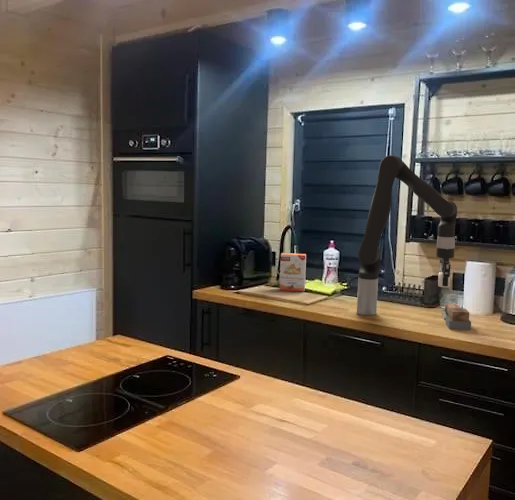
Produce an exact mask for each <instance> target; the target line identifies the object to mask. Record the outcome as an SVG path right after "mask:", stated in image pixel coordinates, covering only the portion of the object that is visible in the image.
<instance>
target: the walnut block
mask: <svg viewBox="0 0 515 500" xmlns="http://www.w3.org/2000/svg"><path fill="white" fill-rule="evenodd" d="M449 318H450V319H451V320H452V321H469V320H470V311H469V310H468V309H467V308H465V307H464V308H462V307H460V308H449Z"/></svg>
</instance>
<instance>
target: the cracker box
mask: <svg viewBox="0 0 515 500" xmlns="http://www.w3.org/2000/svg"><path fill="white" fill-rule="evenodd" d="M306 266H307V254H306V253H292V252H291V253H289V252H281V253H280V266H279V268H280V269H279V271H280V272H279V291H287V292H288V291H289V292H300V293H301V292H302V293H304V292H305V290H306V270H307V269H306V268H307V267H306Z"/></svg>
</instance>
